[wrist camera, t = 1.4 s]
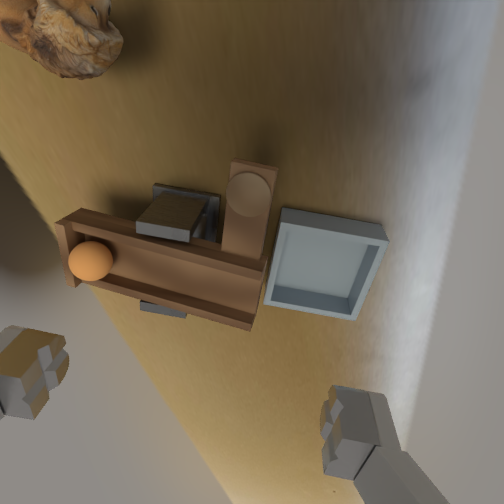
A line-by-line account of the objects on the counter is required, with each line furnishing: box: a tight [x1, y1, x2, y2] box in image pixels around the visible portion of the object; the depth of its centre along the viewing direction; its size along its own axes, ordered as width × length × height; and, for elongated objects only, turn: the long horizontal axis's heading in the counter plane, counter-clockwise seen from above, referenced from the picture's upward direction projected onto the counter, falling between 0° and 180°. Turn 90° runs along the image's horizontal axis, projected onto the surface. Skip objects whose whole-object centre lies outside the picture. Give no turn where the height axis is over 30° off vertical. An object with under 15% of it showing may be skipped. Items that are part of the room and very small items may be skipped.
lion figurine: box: [0, 0, 123, 80], centre depth 20 cm, size 15×5×9 cm, turn 78°
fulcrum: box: [136, 183, 221, 318], centre depth 29 cm, size 9×6×7 cm, turn 172°
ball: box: [68, 241, 113, 281], centre depth 26 cm, size 3×3×3 cm
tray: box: [263, 207, 390, 321], centre depth 31 cm, size 9×9×3 cm
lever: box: [54, 158, 278, 331], centre depth 25 cm, size 13×16×3 cm
